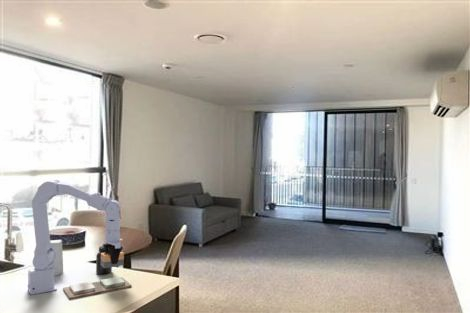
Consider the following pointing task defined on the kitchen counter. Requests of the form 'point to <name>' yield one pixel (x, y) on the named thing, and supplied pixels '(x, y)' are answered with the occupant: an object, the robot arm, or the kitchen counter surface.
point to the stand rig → (96, 287)
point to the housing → (107, 260)
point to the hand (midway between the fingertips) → (112, 262)
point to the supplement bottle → (99, 268)
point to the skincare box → (57, 256)
